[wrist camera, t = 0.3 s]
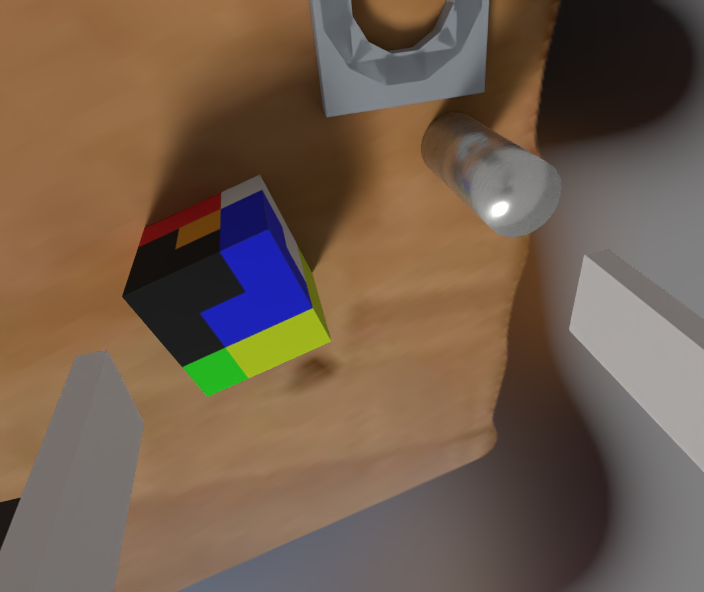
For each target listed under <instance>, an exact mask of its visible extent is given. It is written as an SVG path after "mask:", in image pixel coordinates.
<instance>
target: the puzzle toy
mask: <svg viewBox="0 0 704 592" xmlns="http://www.w3.org/2000/svg"><path fill="white" fill-rule="evenodd" d="M122 297H123V298H124V299H125V301H126V302H127V303H128V304H129V305H130V306H131V308H132V309H133V310H134V311H135V312H136V313H137V315H138V316H139V317H140V318H141V319H142V321H143V322H144V323H145V324H146V325H147V326H148V328H149V329H150V330H151V331H152V332H153V333H154V335H155V336H156V337H157V338H158V339H159V340H160V342H161V343H162V344H163V345H164V346H165V347H166V349H167V350H168V351H169V352H170V353H171V354H172V356H173V357H174V358H175V359H176V360H177V362H178V363H179V364H180V365H181V366H182V367H183V369H184V370H185V371H186V372H187V373H188V374H189V376H190V377H191V378H192V379H193V380H194V381H195V383H196V384H197V385H198V386H199V387H200V388H201V390H202V391H203V392H204V393H205V394H206V395H207V397H208V396H210V395H213V394H215V393H217V392H219V391H221V390H224V389H226V388H228V387H230V386H233V385H235V384H237V383H239V382H242V381H244V380H246V379H248V378H250V377H253V376H255V375H257V374H259V373H262V372H264V371H266V370H268V369H271V368H273V367H275V366H277V365H279V364H282V363H284V362H286V361H288V360H291V359H293V358H295V357H297V356H299V355H302V354H304V353H306V352H308V351H311V350H313V349H315V348H317V347H320V346H322V345H324V344H326V343H328V342H331V338H330V335H329V331H328V328H327V324H326V320H325V317H324V313H323V310H322V306H321V303H320V299H319V296H318V292H317V288H316V285H315V281H314V278H313V274H312V272H311V270H310V268H309V266H308V264H307V262H306V260H305V258H304V257H303V255H302V253H301V251H300V249H299V247H298V245H297V243H296V242H295V240H294V238H293V236H292V234H291V232H290V230H289V228H288V226H287V225H286V223H285V221H284V219H283V217H282V215H281V213H280V211H279V210H278V208H277V206H276V204H275V202H274V200H273V198H272V196H271V194H270V193H269V191H268V189H267V187H266V185H265V183H264V181H263V179H262V178H261V176H260V175H258V176H255V177H253V178H251V179H249V180H247V181H245V182H243V183H240V184H238V185H236V186H234V187H232V188H230V189H228V190H225V191H223V192H221V193H219V194H217V195H215V196H213V197H210V198H208V199H206V200H204V201H202V202H200V203H198V204H196V205H193V206H191V207H189V208H187V209H185V210H183V211H181V212H178V213H176V214H174V215H172V216H170V217H168V218H166V219H163V220H161V221H159V222H157V223H155V224H153V225H151V226H148V227H146V228H144V231H143V234H142V237H141V240H140V244H139V247H138V250H137V253H136V256H135V259H134V262H133V265H132V268H131V271H130V274H129V277H128V280H127V283H126V286H125V289H124V292H123V295H122Z"/></svg>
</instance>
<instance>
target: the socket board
mask: <svg viewBox="0 0 704 592" xmlns="http://www.w3.org/2000/svg"><path fill="white" fill-rule="evenodd" d="M309 3H310V11H311V19H312V26H313V34H314V42H315V50H316V58H317V65H318V73H319V81H320V89H321V97H322V105H323V112H324V114H325V115H326V117H332V116H339V115H345V114H351V113H358V112H364V111H370V110H376V109H383V108H389V107H395V106H402V105H408V104H414V103H421V102H427V101H433V100H439V99H446V98H452V97H458V96H465V95H471V94H477V93H483V92H484V91H485V72H486V52H487V32H488V13H489V0H446V3H445V5H444V7H443V9H442V11H441V14H440V16H439V18H438V20H437V22H436V25H435V27H434V29H433V30H432V31H431V32H430V33H429V34H427V35H426V36H425V37H424V38H423V39H421V40H420V41H419V42H418V43H416V44H415V45H414V46H413V47H411V48H404V49H397V50H390V51H385V50H383V49H381V48H379V47H377V46H375V45H373V44H371V43H369V42H368V41H367V39H366V37H365V36H364V34H363V33H362V31H361V29H360V28H359V26H358V24H357V23H356V21H355V20H354V18H353V16H352V5H351V0H309Z"/></svg>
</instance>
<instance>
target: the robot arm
mask: <svg viewBox="0 0 704 592" xmlns="http://www.w3.org/2000/svg"><path fill="white" fill-rule="evenodd" d="M569 330H570V331H571V332H572V333H573V335H574V336H575V337H576V338H577V339H578V340H579V341H580V342H581V343H582V344H583V345H584V346H585V347H586V348H587V349H588V350H589V351H590V352H591V353H592V355H593V356H594V357H595V358H596V359H597V360H598V361H599V362H600V363H601V364H602V365H603V366H604V367H605V368H606V369H607V370H608V371H609V372H610V373H611V375H612V376H613V377H615V379H616V380H617V381H618V382H619V383H620V384H621V385H622V386H623V387H624V388H625V389H626V390H627V391H628V393H629V394H630V395H631V396H632V397H633V398H634V399H635V400H636V401H637V402H638V403H639V404H640V405H641V406H642V407H643V408H644V409H645V411H646V412H647V413H648V414H649V415H650V416H651V417H652V418H653V419H654V420H655V421H656V422H657V423H658V424H659V425H660V426H661V427H662V428H663V429H664V431H665V432H666V433H668V435H669V436H670V437H671V438H672V439H673V440H674V441H675V442H676V443H677V444H678V445H679V446H680V447H681V448H682V450H683V451H684V452H685V453H686V454H687V455H688V456H689V457H690V458H691V459H692V460H693V461H694V462H695V463H696V464H697V465H698V466H699V467H700V468H701V470H702V471H703V472H704V319H703V318H701V317H700V316H699V315H697V314H696V313H695V312H693V311H692V310H690V309H689V308H688V307H686V306H685V305H684V304H682V303H681V302H680V301H678V300H677V299H676V298H674V297H673V296H672V295H670V294H669V293H667V292H666V291H665V290H663V289H662V288H661V287H659V286H658V285H656V284H655V283H654V282H652V281H651V280H650V279H648V278H647V277H646V276H644V275H643V274H642V273H640V272H639V271H638V270H636V269H635V268H633V267H632V266H630V265H629V264H628V263H627V262H625V261H624V260H622V259H621V258H620V257H618V256H617V255H616V254H614V253H613V252H612V251H610V250H604V251H599V252H594V253H590V254H585V255H584V259H583V264H582V269H581V274H580V279H579V283H578V288H577V293H576V299H575V303H574V308H573V313H572V318H571V323H570V328H569ZM143 426H144V422H143V420H142V418H141V416H140V414H139V412H138V410H137V408H136V406H135V404H134V402H133V400H132V398H131V396H130V394H129V392H128V390H127V388H126V386H125V384H124V382H123V380H122V378H121V376H120V374H119V372H118V370H117V368H116V366H115V364H114V362H113V360H112V358H111V356H110V354H109V352H108V350H105V351H100V352H95V353H90V354H85V355H80V356H76V358H75V360H74V363H73V365H72V368H71V370H70V373H69V376H68V378H67V381H66V383H65V386H64V388H63V391H62V394H61V396H60V399H59V401H58V404H57V406H56V409H55V412H54V414H53V417H52V419H51V422H50V424H49V427H48V430H47V432H46V435H45V437H44V440H43V442H42V445H41V447H40V450H39V453H38V455H37V458H36V460H35V463H34V465H33V468H32V471H31V473H30V476H29V478H28V481H27V483H26V486H25V489H24V491H23V494H22V496H21V498H17V499H13V500H8V501H4V502H0V592H113V591H114V585H115V580H116V574H117V569H118V563H119V558H120V552H121V547H122V541H123V536H124V530H125V525H126V519H127V514H128V508H129V503H130V497H131V492H132V486H133V481H134V475H135V470H136V465H137V459H138V454H139V448H140V443H141V437H142V432H143Z"/></svg>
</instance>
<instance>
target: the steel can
mask: <svg viewBox="0 0 704 592" xmlns="http://www.w3.org/2000/svg"><path fill="white" fill-rule="evenodd" d="M421 153H422V157H423V160H424V162H425V164H426V165H427V166H428V167H429V168H430V169H431V170H432V171H433V172H434V173H435V174H436V175H437V176H438V177H439V178H440V179H441V180H442V181H443V182H444V183H445V184H446V185H447V186H448V187H449V188H450V189H451V190H452V191H453V192H454V193H455V194H456V195H457V196H458V197H460V198H461V199H462V200H463V201H464V202H465V203H466V204H467V205H468V206H469V207H470V208H471V209H472V210H473V211H474V212H475V213H476V214H477V215H478V216H479V217H480V218H481V219H482V220H483V221H484V222H485V223H486V224H487V225H488V226H489V227H490V228H491V229H492V230H493V231H495V232H496V233H498V234H500V235H502V236H506V237H519V236H523V235H526V234H529V233H531V232H533V231H534V230H536V229H537V228H539V227H540V226H541V225H543V224H544V223H545V222H546V221H547V220H548V219H549V217H550V216H551V215H552V214H553V212H554V210H555V209H556V206H557V204H558V202H559V199H560V195H561V180H560V177H559V174H558V172H557V171H556V170H555V168H554V167H553V166H551V165H550V164H549V163H547V162H545V161H543V160H542V159H540V158H538V157H537V156H535V155H533V154H532V153H530V152H528V151H527V150H525V149H523V148H522V147H520V146H518V145H517V144H515V143H513V142H512V141H510V140H508V139H507V138H505V137H503V136H502V135H500V134H498V133H497V132H495V131H493V130H492V129H490V128H488V127H486V126H485V125H483V124H481V123H480V122H478V121H476V120H475V119H473V118H471V117H470V116H468V115H466V114H464V113H460V112H451V113H447V114H444V115H442V116H440V117H438V118H437V119H436V120H435V121H433V122H432V123H431V124H430V126H429V127H428V128H427V130H426V132H425V134H424V136H423V139H422V144H421Z"/></svg>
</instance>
